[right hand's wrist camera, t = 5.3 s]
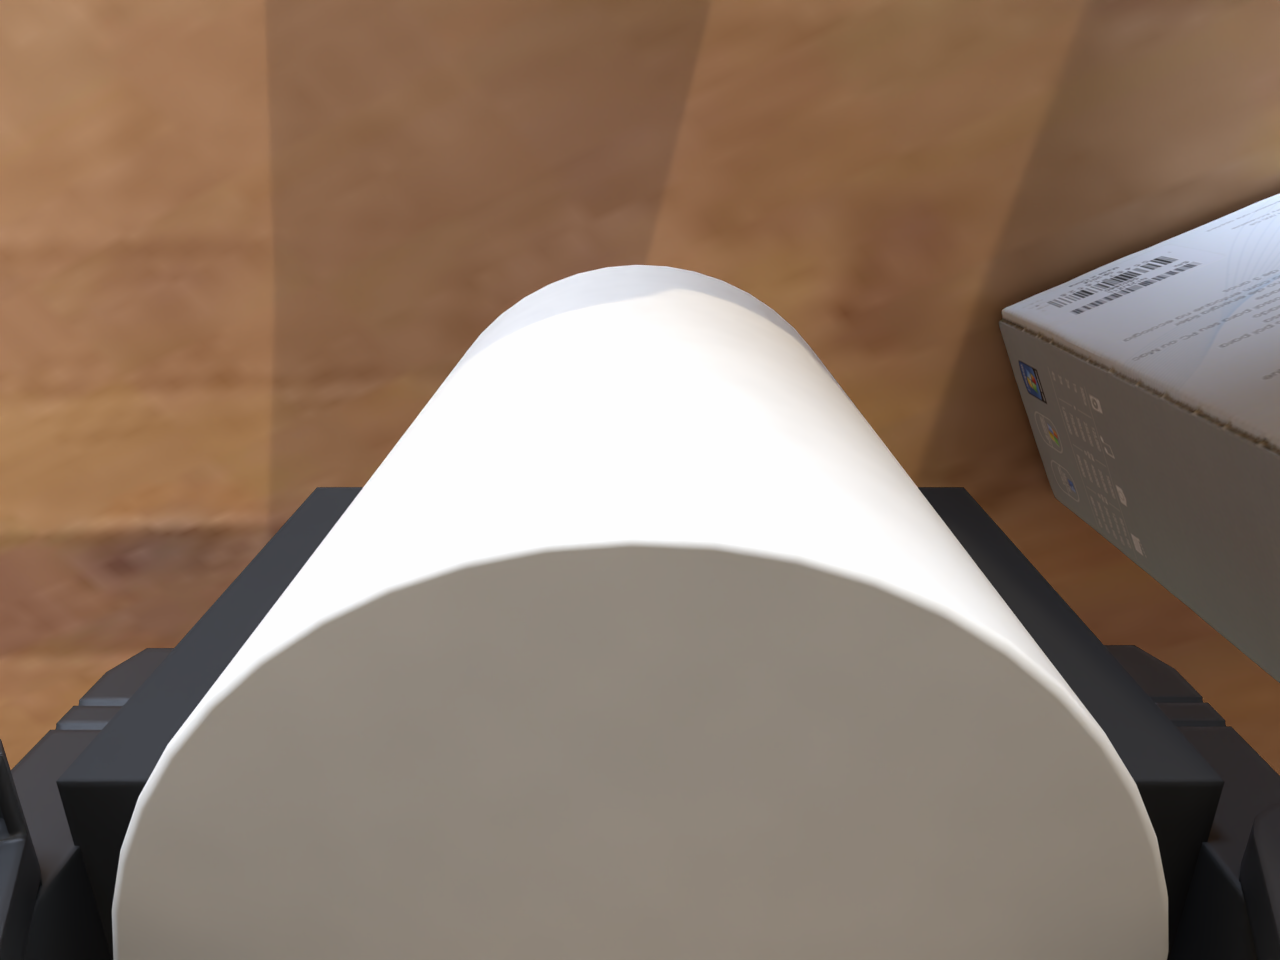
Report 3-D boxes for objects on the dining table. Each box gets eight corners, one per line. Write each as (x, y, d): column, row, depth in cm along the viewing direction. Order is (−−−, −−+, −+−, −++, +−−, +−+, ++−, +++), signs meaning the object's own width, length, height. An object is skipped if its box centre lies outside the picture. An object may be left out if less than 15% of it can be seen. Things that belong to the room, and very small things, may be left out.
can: (368, 333, 17) (-114, 707, 6) (799, 209, 16) (1124, 382, 5) (510, 692, 20) (354, 1380, 9) (882, 601, 19) (1206, 1237, 8)
